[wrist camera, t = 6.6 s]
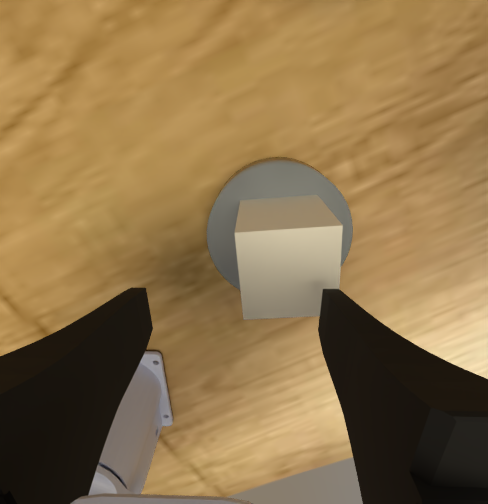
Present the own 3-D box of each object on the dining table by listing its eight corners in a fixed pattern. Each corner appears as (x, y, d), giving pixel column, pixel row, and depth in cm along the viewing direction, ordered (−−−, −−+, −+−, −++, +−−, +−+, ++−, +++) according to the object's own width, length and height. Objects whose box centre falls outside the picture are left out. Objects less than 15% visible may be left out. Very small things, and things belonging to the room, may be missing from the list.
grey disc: (346, 259, 23) (361, 282, 19) (234, 286, 24) (231, 311, 21) (326, 139, 19) (340, 143, 16) (196, 178, 20) (185, 189, 17)
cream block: (316, 263, 19) (337, 315, 14) (246, 267, 19) (243, 319, 14) (317, 194, 17) (342, 225, 12) (240, 200, 18) (234, 232, 12)
